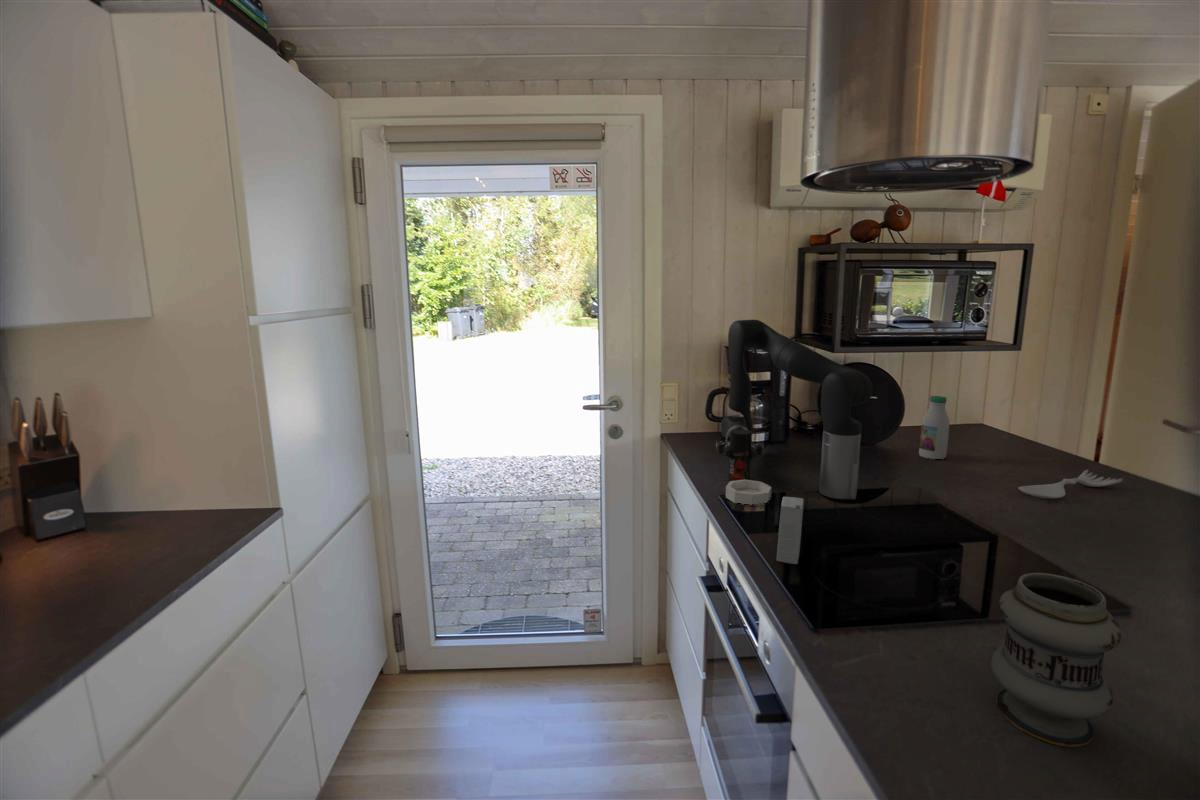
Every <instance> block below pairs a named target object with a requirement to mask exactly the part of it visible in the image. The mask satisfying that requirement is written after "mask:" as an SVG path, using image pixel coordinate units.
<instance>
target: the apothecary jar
mask: <svg viewBox="0 0 1200 800" xmlns="http://www.w3.org/2000/svg"><path fill="white" fill-rule="evenodd" d="M998 610H999V612H1000V615H1001V616H1002V618H1003V620H1004V621H1005V622H1006V623H1007V624H1006V626H1007V627H1006V634H1005V640H1004V644H1002V645H1000V646H998V647H997V648H996V649H995V650H994V652H993V653H992V655H991V658H990V659H991V660H990V666H991V667H990V668H991V671H992V673H993V674H994V677H995V679H996V680H997V682H998V683H999V684H1000V685H1001V686H1002V688H1003V690H1001V691H999V692H998V693H997V694H996V698H995V705H996V707H998V709H1000V710H1001V711H1002V712H1003V713H1004V716H1003V717H1004V718H1005V720H1007V721H1008V722H1009V723H1010V724H1011V725H1013V726H1014V727H1016V729H1018V730H1020V731H1022V732H1023V733H1026V734H1027V735H1029V736H1031V737H1033V738H1036V739H1038V740H1040V741H1043V742H1045V743H1048V744H1051V745H1055V746H1060V747H1064V748H1065V747H1066V748H1067V747H1068V748H1079V747H1083V746H1087V745H1088V744H1090V743H1091V742H1092V741H1093V739H1094V730H1093V729H1094V728H1093V727H1092V725H1091V724H1090V723H1089V722H1090V721H1089V720H1090V719H1095V718H1098V717H1101V716H1103V715H1104V714H1106V713H1107V712H1108V711H1110V709H1111V708H1112V706H1113V702H1114V694H1113V690H1112V687H1111V684H1110V683H1109V682H1108V679H1107V678H1106V677H1105V676H1104V675H1103V668H1104V667H1103V665H1104V656H1105V653H1106V652H1109V651H1112V650H1113V649H1115V648H1116V647H1117V646H1118V645H1119V644H1120V643H1121V639H1122V629H1121V627H1120V625H1119V623H1118V621H1117V620H1116V618H1115V617H1114V616H1113V615H1112V614H1111V613H1110V612H1109V611H1108V610H1107V599H1106V597H1105V595H1104V594H1103V593H1102V592H1100V590H1098V589H1096V588H1095V587H1093V586H1092V585H1090V584H1088V583H1086V582H1082V581H1079V580H1077V579H1074V578H1070V577H1066V576H1063V575H1060V574H1053V573H1045V572H1031V573H1029V572H1028V573H1025V574H1022V575H1021V576H1020V577H1019V578H1018V579H1017V583H1016V585H1015V587H1012V588H1009V589H1007V590H1006V591H1005V592H1003V593H1002V594H1001V596H1000V598H999V599H998Z"/></svg>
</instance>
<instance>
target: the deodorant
mask: <svg viewBox="0 0 1200 800" xmlns="http://www.w3.org/2000/svg"><path fill="white" fill-rule="evenodd" d="M752 437H753V433H752V432H751V431H749V430H744V429H734V430H731V431H730V457H728V458H729V459H728V460H729V463H728V483H729V482H730V481H737V480H751V467H752V466H751V465H752V464H751V462H752V461H751V443H752V442H753V440H752V439H753V438H752Z"/></svg>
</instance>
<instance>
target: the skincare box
mask: <svg viewBox="0 0 1200 800" xmlns="http://www.w3.org/2000/svg"><path fill="white" fill-rule="evenodd" d="M781 499H782V500H781V505H780V515H779V524H778V525H779V526H778V536H777V537H778V538H777V547H776V548H777V549H776V559H775V560H776V561H777V562H780V563H786V564H792V565H798V563H799V558H800V550H801V538H802V529H803V528H802V527H803V515H804V513H803V512H804V502H805V501H804V498H802V497H801V498H800V497H793V496H783V497H782V498H781Z"/></svg>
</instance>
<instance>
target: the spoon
mask: <svg viewBox="0 0 1200 800" xmlns="http://www.w3.org/2000/svg"><path fill="white" fill-rule="evenodd" d="M1097 476H1098V474H1094V475H1093V472H1090V473H1089V469H1085V470H1084V471H1083V472H1082V473H1081V474H1079V476H1078V477H1074V478H1063V479H1062V481H1058V482H1056V483H1055V482H1054V483H1047V484H1046V483H1045V484H1035V485H1034V484H1033V485H1023V486H1022V485H1021V486H1018V487H1017V488H1018V490H1019V491H1021V492H1022V493H1024V494H1027V495H1029V496H1032V497H1036V498H1041V499H1047V500H1049V499H1052V500H1055V499H1061V498H1063V497H1065V496H1066V492H1067V491H1065V490H1066V489H1065V486H1066V485H1076V484H1077V483H1080V484H1082V485H1083V486H1087V487H1092V488H1101V487H1106V486H1111V485H1115V484H1119V483H1121V482H1123V478H1122V477H1121V478H1118V479H1117V478H1112V479H1111V477H1108V478H1106V479H1104V476H1100V477H1097Z"/></svg>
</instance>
